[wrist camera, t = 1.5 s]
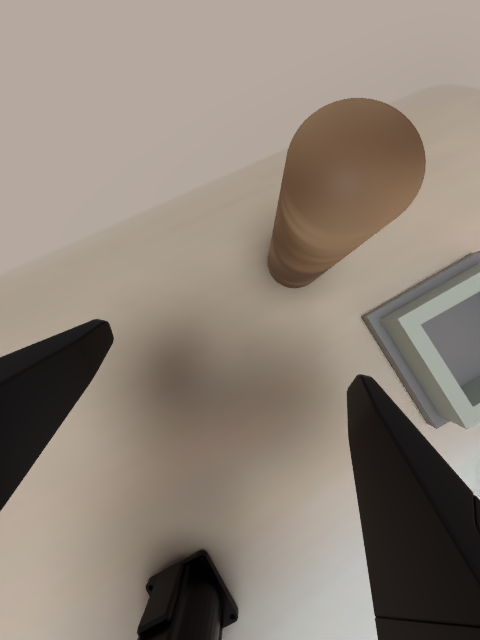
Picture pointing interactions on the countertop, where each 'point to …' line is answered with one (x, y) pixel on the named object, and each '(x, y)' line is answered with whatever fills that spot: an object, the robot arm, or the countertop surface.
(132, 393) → the countertop surface
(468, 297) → the dock
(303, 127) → the walnut plug
